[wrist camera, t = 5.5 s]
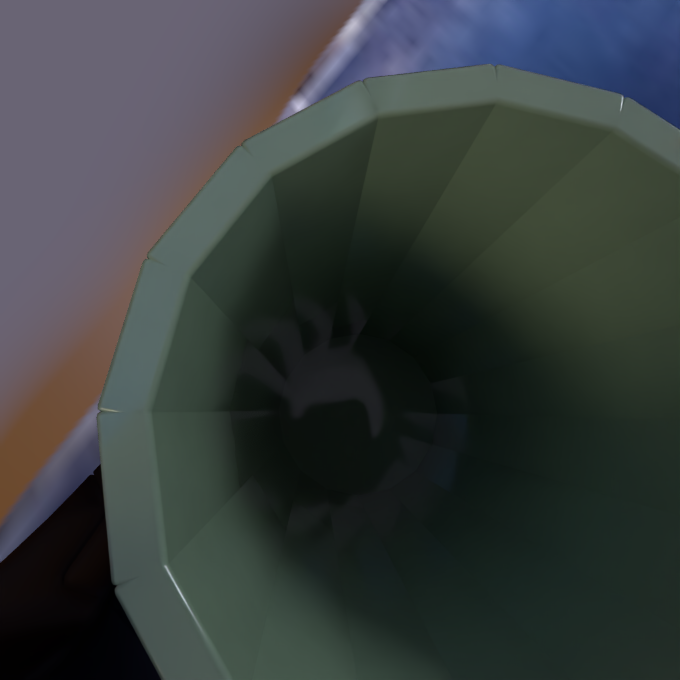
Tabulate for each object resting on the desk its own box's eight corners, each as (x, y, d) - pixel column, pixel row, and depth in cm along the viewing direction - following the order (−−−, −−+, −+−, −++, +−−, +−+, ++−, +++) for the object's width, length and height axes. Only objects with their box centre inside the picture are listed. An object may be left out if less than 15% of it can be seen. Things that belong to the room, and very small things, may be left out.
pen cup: (423, 517, 15) (896, 980, 3) (252, 481, 15) (-30, 800, 3) (452, 348, 16) (887, 156, 4) (292, 312, 16) (224, -5, 4)
